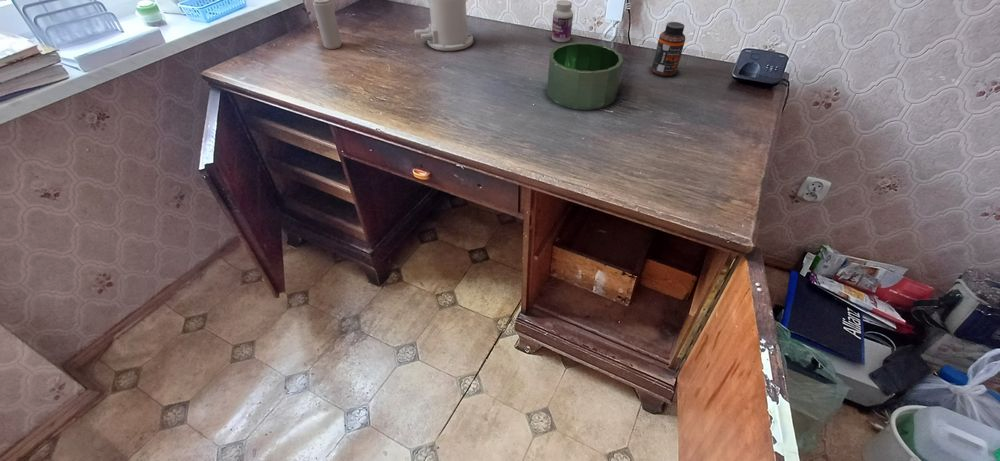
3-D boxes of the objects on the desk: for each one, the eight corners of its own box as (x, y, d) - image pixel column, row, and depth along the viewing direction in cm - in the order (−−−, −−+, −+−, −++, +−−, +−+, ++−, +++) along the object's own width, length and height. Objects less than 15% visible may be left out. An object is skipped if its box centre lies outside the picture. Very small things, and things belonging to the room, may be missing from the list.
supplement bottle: (662, 79, 112) (674, 31, 104) (646, 69, 116) (656, 22, 108) (681, 74, 114) (694, 26, 106) (664, 64, 118) (676, 18, 110)
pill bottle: (548, 40, 129) (550, 3, 123) (555, 34, 133) (558, -3, 126) (566, 44, 128) (569, 6, 121) (573, 37, 131) (577, 0, 124)
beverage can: (320, 48, 126) (307, 0, 117) (331, 41, 129) (319, -5, 121) (335, 51, 124) (323, 3, 116) (346, 44, 128) (335, -3, 119)
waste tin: (563, 114, 100) (567, 76, 94) (537, 82, 111) (539, 47, 105) (628, 103, 103) (635, 66, 97) (597, 74, 114) (602, 39, 108)
